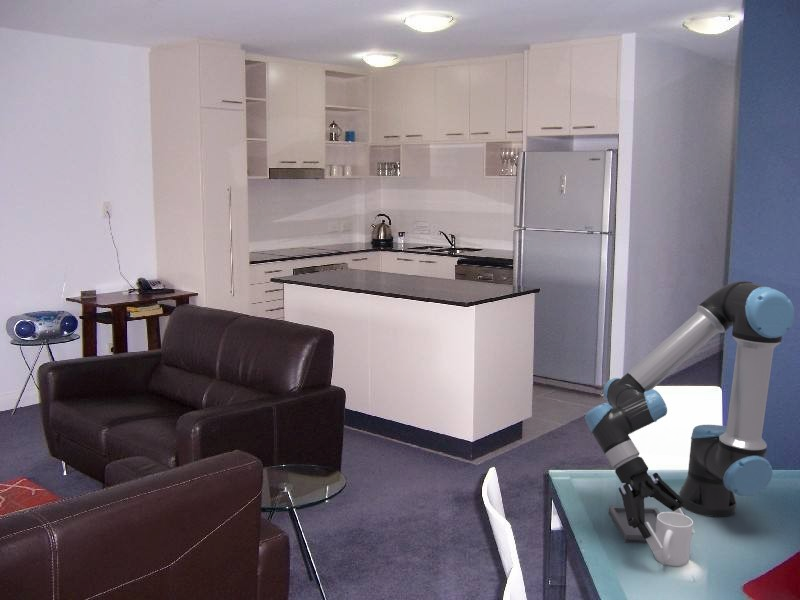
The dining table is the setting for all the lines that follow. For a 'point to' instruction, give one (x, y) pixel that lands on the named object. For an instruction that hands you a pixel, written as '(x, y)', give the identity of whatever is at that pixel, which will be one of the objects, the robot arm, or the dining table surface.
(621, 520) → the tray
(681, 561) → the mug
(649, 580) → the dining table surface
